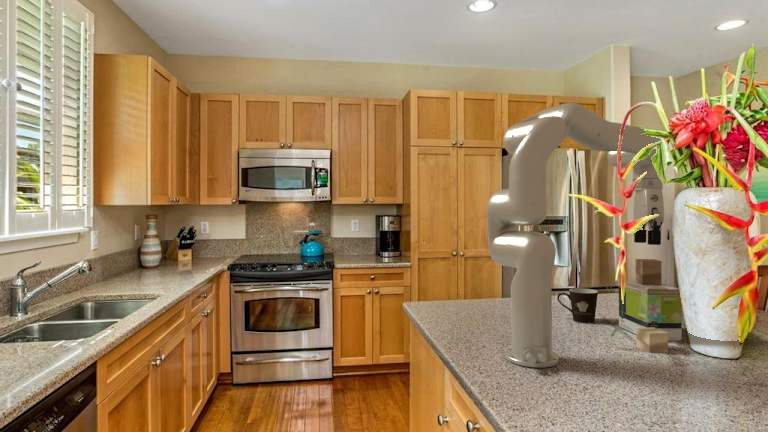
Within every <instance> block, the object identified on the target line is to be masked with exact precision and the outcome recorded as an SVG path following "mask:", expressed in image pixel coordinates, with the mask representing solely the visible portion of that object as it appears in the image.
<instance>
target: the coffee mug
mask: <svg viewBox="0 0 768 432" xmlns="http://www.w3.org/2000/svg"><path fill="white" fill-rule="evenodd" d="M568 292H569V293H567V292H566V293H565V292H560V293H558V295H557V298H556V299H557V301H558V302H559V304H560V305H561V306H562V307H564V308H565V309H567V310H568V311H570V312H571V314H572V315H571V316H572V319H573V322H576V323H579V324H594V323H595V320H596V313H597V312H596V311H597V302H598V294H599V291H598V290H596V289H591V288H581V287H580V288H579V287H578V288H576V287H575V288H569V290H568ZM562 295H565V296H566V297H567V298H568V299H569V301H570V307H571V308H569V307H568V306H567V305H565V304H564V303H562V301H561V300H560V296H562Z"/></svg>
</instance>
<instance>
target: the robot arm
mask: <svg viewBox="0 0 768 432" xmlns="http://www.w3.org/2000/svg"><path fill="white" fill-rule="evenodd" d="M622 124H623V123H620V122H614V121H613V122H612V121H609V120H607V119H605V118H603V117H601V116H600V115H598V114H596V113H594V112H593V111H591V110H590V109H588V108H586V106H585V107H584V106H583V105H581V104H579V103H577V102H567V103H563V104H560V105H556V106H552V107H549V108H546V109H543V110H541V111H539V112H537V113H534V114H533V115H531V116H528V117H527V118H525V119H523V120H520V121H519V122H516V123H514V124H513V125H511V126H510V127H508V129H506V131H505V133H504V136H503V139H502V140H503V146H504V149H505V151H506V152H507V153H508V154H510V155H512V156H511V160H510V163H509V168H508V169H509V170H508V188H504V189H500V190H498V191H495V192H494V193H493V194H492V195H491V196H490V198H489V199H488V202H487V205H486V212H485V213H486V229H487V230H486V231H487V232H486V233H487V245H488V246H487V247H488V252H489V256H490V257H491V259H492V260H493V262H495V263H496V264H498V265H500V266H503V267H509V268H514V269H516V271H515V273H514V276H513V278H512V280H511V284H510V320H511V321H510V324H511V325H510V326H511V327H510V332H511V333H510V335H511V337H510V338H511V339H510V340H511V342H510V343H511V345H510V347H509V348H507V349H506V350H505V351H504V357H505V358H506V360H507V361H508V362H510V363H512V364H515V365H518V366H523V367H528V368H536V369H537V368H539V369H541V368H550V367H554V366H557V365H558V364H559V363H560V356H559V355H558V354H557V353H556V352H554V351H553V328H552V327H553V326H552V325H553V324H552V323H553V321H552V320H553V319H552V318H553V314H552V312H553V311H552V309H553V307H552V280H553V270H554V265H555V260H556V254H557V253H556V251H557V250H556V246H555V243H554V240H553V239H552V237H549V235H547V234H545V233H542V232H539V231H530V230H518V226H519V227H520V226H521V227H524V226H526V227H530V226H531V227H532V226H538V225H540V224H541V223H543V222H544V221H545V219H546V216H547V209H548V207H547V206H548V205H547V204H548V202H547V188H546V187H547V185H546V184H547V183H546V168H547V163H548V161H549V159H550V157H551V156H552V154H553V153H554V152H555V150H557V148H558V147H560V146H561V144H563V141H564V140H565V139H566V138H567V139H569V140H571V141H572V142H574V143H577V144H578V145H580V146H583V147H584V148H586V149H587V150H590V151H594V152H602V153H603V152H604V153H605V152H607V155H606V156H607V161H608V162H609V164H610V165H611V166H613V167H615V168H618V167H617V149H618V142H619V135H620V129H621V126H622ZM625 125H626V126H625V129H624V134H623V139H622V144H621V168H620V169H626V168H625V167H626V165H627V164H628V163H629V162H630V161H631V160H632V159H633V157H634V156H635V155H636V154H637V153H638V152H639V151H640V150H641V149H642V148H644V147H646V145H647V146H648V144H651V143H655V142H658V141H660V139H661V138H660V137H659V138H660V139H659V138H656V137H651V136H650V135H648V136H647V135H644V134H642V133H644V132H643V130H644V129H645V128H644V127H640V126H635V125H630V124H625ZM641 128H642V129H641ZM646 130H647V131H649V130H648V129H646ZM641 134H642V135H641ZM655 153H656V149H653V150H652V151H651V153H650V155H648V156H647V158H645V159H643V160H640V161H638V162H637V163H636V164H635V165H634V166H633V167H632V183H633V182H634V181H635V180H636V179H637V178H638V177H640V175H642V174H643V173H644V172H646V171H647V174H646V175H645V176H644V177H643V178H642V179H641V181H640V182H639V183H638V185H637V186H636V188H635V190H634V191H633V192H634V198H633V200H634V201H633V221H634V220H636V219H639V218H642V217H645V216H649V215H654V214H659V216H658V217H656V218H654V219H651V220H649V221H648V222H646V223H645V224H644V225H643V224H642V225H643V227H642V228H643V230H639V231H637V232H636V233H634V232H633V234H634V235H633V242H634V243H636V244H637V243H639V244H643V243H645V244H646V243H647V245H649V246H660V245H661V244H662V225H663V224H664V223H665V205H664V203H665V202H664V196H663V189H664V188H663V186H664V185H663V184H664V182H663V183H662V182H661V180H660V179H659V177H658V175H657V172H656V170H655V168H654V166H653V164H652V160H651V157H652V156H653V155H654V154H655ZM647 227H648V230H647V229H646V228H647Z"/></svg>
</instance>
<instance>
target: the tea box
mask: <svg viewBox="0 0 768 432" xmlns="http://www.w3.org/2000/svg"><path fill="white" fill-rule="evenodd" d="M620 281H621V280H619V281H618V327H619V328H622V329H623V330H626V331H628V332H630V333H632V334H634V335H636V328H651V327H654V328H657V329H659V330H662V331H665V332H667V333H668V342H669V341H671V342H672V341H675V342H676V341H682V339H683V338H682V336H683V335H682V334H683V333H682V331H683V329H682V320H683V318H682V316H683V315H682V307H683V305H682V303H683V302H682V303H681V298H680V292H679V288H680V287H678V286H677V287H675V286H672V285H667V284H664V283H662V285H641V284H639V283H636V280H626V281H627V283H626V293H625V296H624V304H622V300H621V288H620Z"/></svg>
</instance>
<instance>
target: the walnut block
mask: <svg viewBox="0 0 768 432" xmlns="http://www.w3.org/2000/svg"><path fill="white" fill-rule="evenodd" d="M634 261H635V267H634V269H635V281H636V283H639V284H641V285H662V284H663V283H662V275H663V274H662V260H658V259H654V258H651V259H650V258H635V260H634Z"/></svg>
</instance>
